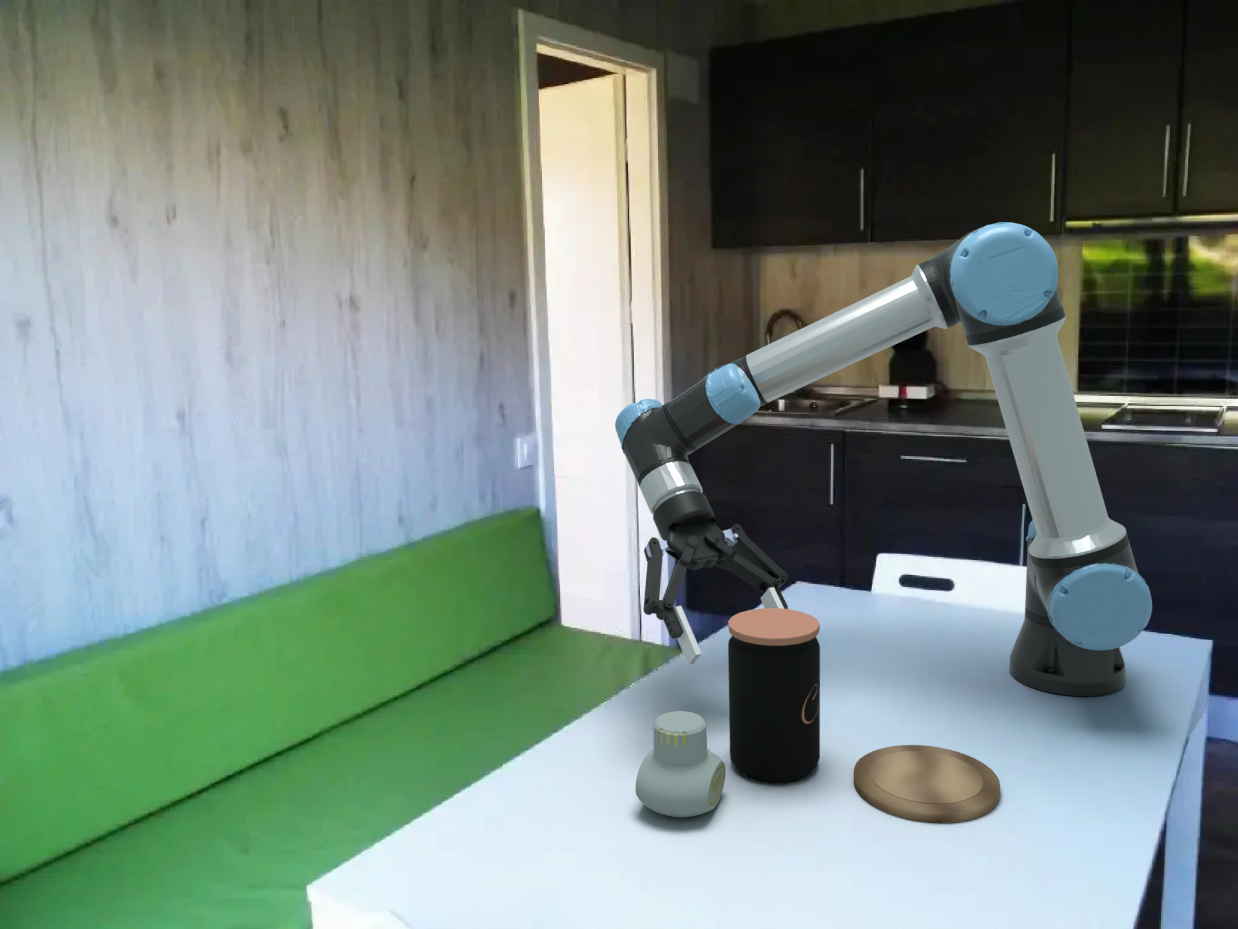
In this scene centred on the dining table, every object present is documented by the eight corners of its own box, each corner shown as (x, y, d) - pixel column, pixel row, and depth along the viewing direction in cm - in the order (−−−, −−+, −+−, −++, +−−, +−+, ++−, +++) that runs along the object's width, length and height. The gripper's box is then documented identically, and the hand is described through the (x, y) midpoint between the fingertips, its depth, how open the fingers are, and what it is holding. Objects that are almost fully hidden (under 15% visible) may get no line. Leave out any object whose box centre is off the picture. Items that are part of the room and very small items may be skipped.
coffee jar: (818, 790, 120) (819, 640, 117) (725, 783, 122) (723, 636, 119) (820, 748, 130) (820, 609, 127) (734, 743, 132) (732, 606, 129)
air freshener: (662, 777, 124) (660, 697, 123) (730, 787, 122) (729, 705, 120) (630, 823, 114) (627, 737, 113) (703, 835, 112) (701, 747, 110)
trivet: (968, 751, 128) (968, 741, 128) (1024, 819, 112) (1024, 807, 112) (838, 757, 128) (838, 747, 127) (875, 827, 112) (876, 815, 112)
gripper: (746, 507, 147) (812, 643, 136) (584, 533, 135) (642, 682, 125) (768, 477, 141) (838, 615, 131) (601, 501, 130) (663, 654, 120)
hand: (742, 648), depth 128 cm, fingers open, 13 cm apart
